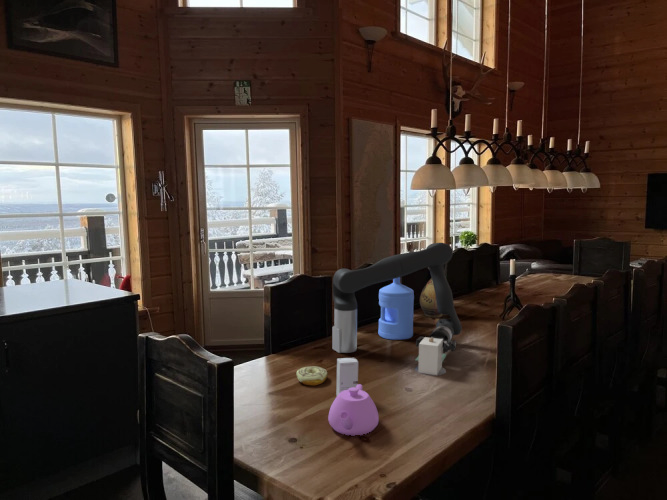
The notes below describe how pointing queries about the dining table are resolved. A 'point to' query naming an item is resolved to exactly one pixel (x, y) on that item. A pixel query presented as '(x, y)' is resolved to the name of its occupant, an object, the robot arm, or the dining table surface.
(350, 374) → the skincare box
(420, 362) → the ceramic cover
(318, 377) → the decorated donut
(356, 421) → the teapot
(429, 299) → the ceramic jug
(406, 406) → the dining table surface
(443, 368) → the slate coaster
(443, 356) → the felt mat
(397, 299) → the water jug
